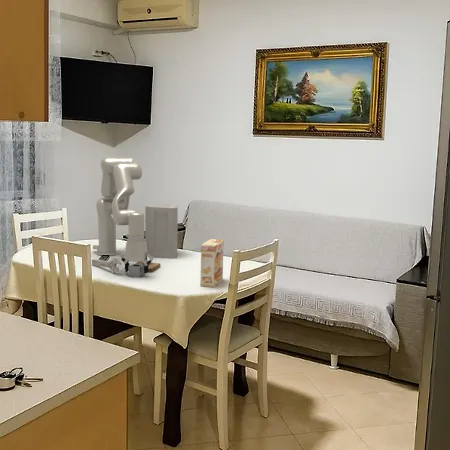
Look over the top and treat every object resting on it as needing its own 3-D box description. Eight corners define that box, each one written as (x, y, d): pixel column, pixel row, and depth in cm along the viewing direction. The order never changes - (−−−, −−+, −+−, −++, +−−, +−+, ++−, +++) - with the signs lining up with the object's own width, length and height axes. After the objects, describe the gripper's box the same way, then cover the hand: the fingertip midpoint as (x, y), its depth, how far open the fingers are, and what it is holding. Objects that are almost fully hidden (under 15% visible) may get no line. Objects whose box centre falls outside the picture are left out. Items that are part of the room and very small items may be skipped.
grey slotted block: (128, 276, 284) (128, 266, 283) (133, 273, 290) (133, 263, 289) (139, 277, 283) (139, 267, 282) (144, 274, 288) (144, 264, 288)
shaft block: (129, 270, 295) (129, 250, 293) (138, 265, 306) (138, 245, 304) (151, 272, 292) (151, 252, 290) (160, 267, 303) (160, 247, 301)
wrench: (92, 269, 308) (122, 274, 285) (89, 269, 307) (119, 275, 284) (91, 254, 307) (121, 258, 285) (88, 254, 306) (117, 258, 283)
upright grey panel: (160, 260, 317) (160, 209, 312) (144, 255, 328) (144, 205, 323) (188, 256, 329) (188, 206, 324) (172, 251, 340) (172, 203, 335)
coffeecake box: (214, 287, 269) (215, 245, 265) (199, 286, 271) (200, 244, 267) (223, 279, 283) (224, 239, 280) (209, 278, 285) (209, 238, 281)
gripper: (116, 237, 282) (116, 272, 285) (150, 240, 277) (150, 275, 280) (123, 235, 289) (123, 269, 292) (156, 237, 284) (156, 272, 287)
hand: (136, 272), depth 286 cm, fingers open, 9 cm apart
